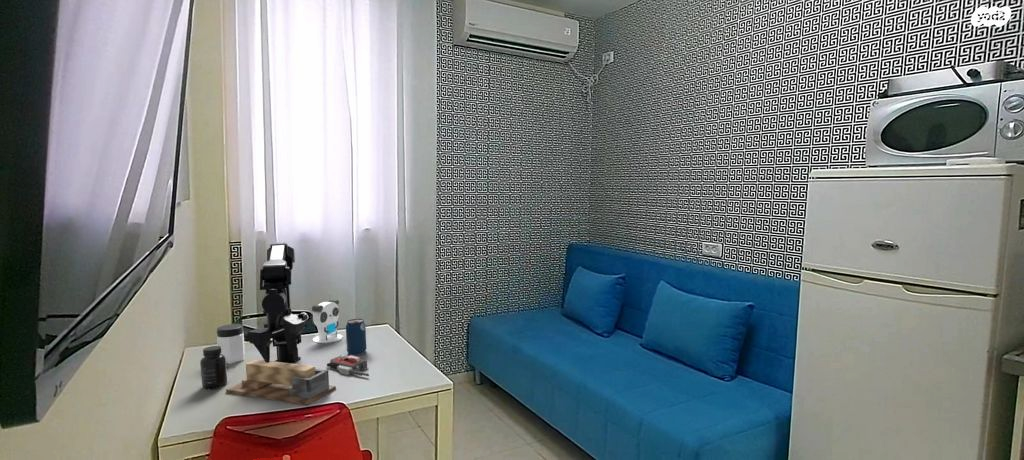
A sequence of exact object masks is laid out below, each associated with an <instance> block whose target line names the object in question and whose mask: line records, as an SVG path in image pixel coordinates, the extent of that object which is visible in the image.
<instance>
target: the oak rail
mask: <svg viewBox="0 0 1024 460" xmlns="http://www.w3.org/2000/svg"><path fill="white" fill-rule="evenodd" d="M245 368H246V369H245V370H246V371H245V373H246V374H245V375H246V378H247V380H253V381H261V382H268V383H275V384H282V385H289V386H292V377H294V376H298V377H305V378H310V377H312V376H314V375H315V369H316V366H314V365H308V364H300V363H283V362H275V360H270V361H269V363H266V362H265V360H264V359H259V358H258V359H257V358H255V359H253V360H251V361H249V362H246V363H245Z"/></svg>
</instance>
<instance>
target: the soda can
mask: <svg viewBox="0 0 1024 460" xmlns="http://www.w3.org/2000/svg"><path fill="white" fill-rule="evenodd" d="M364 320H365V319H362V318H352V319H349V320H347V322H346V325H345V338H346V339H345V341H346V344H345V345H346V352H347V353H348V354H349V356H350V355H352V356H360V355H363V354H365V352H366V351H367V330H366V329H367V328H366V323H365V321H364Z"/></svg>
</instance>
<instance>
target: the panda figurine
mask: <svg viewBox="0 0 1024 460" xmlns="http://www.w3.org/2000/svg"><path fill="white" fill-rule="evenodd" d="M339 304H340V301H339V299H329V300H328V301H323V302H320V303H319V304H313V305H312V307H311V310H312V312H313V314H312V323H313V324H314V325H315V326H316V327H317V332H318V335H317V336H315V337H313V338H312V342H314V343H316V344H328V343H334V342H338V341H341V340H342V339H343V338H342V337H343V335H342V334H339V333H338V327H339V321H338V320H339V318H340V317H339V316H340V309H339V306H338V305H339ZM340 339H341V340H340Z"/></svg>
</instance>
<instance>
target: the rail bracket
mask: <svg viewBox="0 0 1024 460" xmlns="http://www.w3.org/2000/svg"><path fill="white" fill-rule="evenodd" d="M329 376H330V375H329V370H328V369H320V368H315V375H314V376H312V377H310V378H305V377H298V376H294V377H292V386H289V385H282V384H275V383H268V382H261V381H253V380H247V377H246V378H244V379H242V380H241V382H239V383H238V384H235V385H233V386H230V387H229V388H228V387H227V388H225V392H226V393H227V394H234V395H240V396H244V397H245V396H246V397H250V398H251V397H252V398H259V399H264V400H271V401H277V402H283V403H290V404H297V405H302V406H303V405H304V406H310V405H312V404H313V403H315V402H317V401H318V400H320V399H322V398H323V397H325V396H327V395H328V394H330V393H332V392H334V391H335V390H336V389H337V388H336V386H335V385H331V384H330V381H329Z"/></svg>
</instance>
